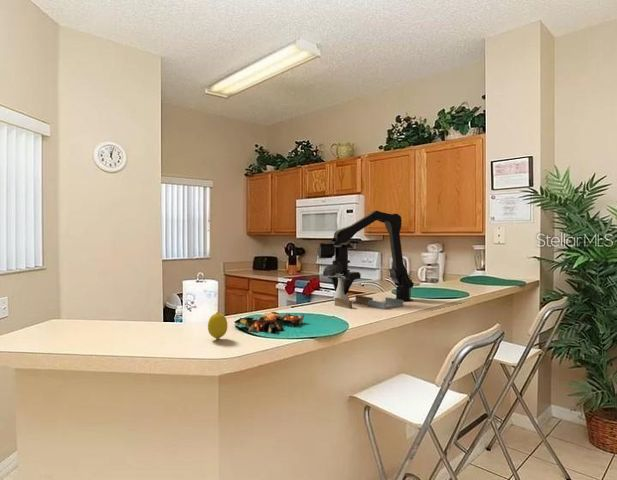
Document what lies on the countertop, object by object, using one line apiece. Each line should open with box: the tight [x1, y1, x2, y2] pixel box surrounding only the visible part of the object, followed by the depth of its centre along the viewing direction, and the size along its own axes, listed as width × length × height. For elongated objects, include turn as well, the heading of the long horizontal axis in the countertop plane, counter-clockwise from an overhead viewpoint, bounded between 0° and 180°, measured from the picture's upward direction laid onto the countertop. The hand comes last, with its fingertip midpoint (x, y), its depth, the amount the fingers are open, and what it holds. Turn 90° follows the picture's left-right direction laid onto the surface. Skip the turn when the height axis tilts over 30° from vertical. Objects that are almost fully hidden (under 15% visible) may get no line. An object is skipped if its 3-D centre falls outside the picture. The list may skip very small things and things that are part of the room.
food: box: [233, 311, 305, 334], centre depth 135 cm, size 22×19×4 cm
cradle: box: [367, 296, 404, 310], centre depth 170 cm, size 12×9×2 cm
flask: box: [332, 276, 350, 301], centre depth 177 cm, size 7×7×10 cm
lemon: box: [207, 311, 228, 341], centre depth 116 cm, size 6×6×8 cm
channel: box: [334, 294, 374, 310], centre depth 171 cm, size 14×9×3 cm, turn 128°
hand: (341, 293), depth 177 cm, fingers closed on flask, 5 cm apart
